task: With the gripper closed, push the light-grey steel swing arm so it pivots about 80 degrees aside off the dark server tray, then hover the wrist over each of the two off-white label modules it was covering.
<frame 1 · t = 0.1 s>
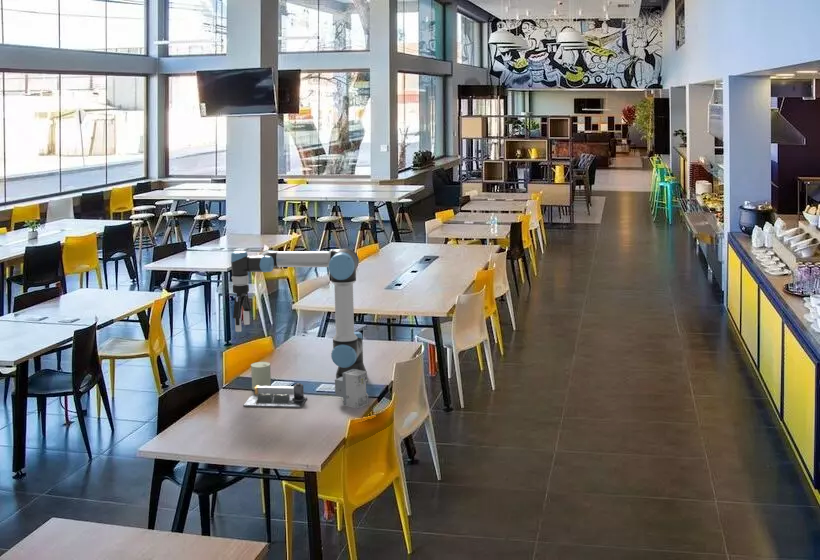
hand: (242, 328, 444), 28 cm above the table, fingers open, 13 cm apart
can: (261, 388, 444), on the table
circuit breaker: (350, 403, 420), on the table
server tray: (275, 402, 423), on the table
swing arm: (279, 390, 425), point 5 cm above the table, hinge at 0.0°
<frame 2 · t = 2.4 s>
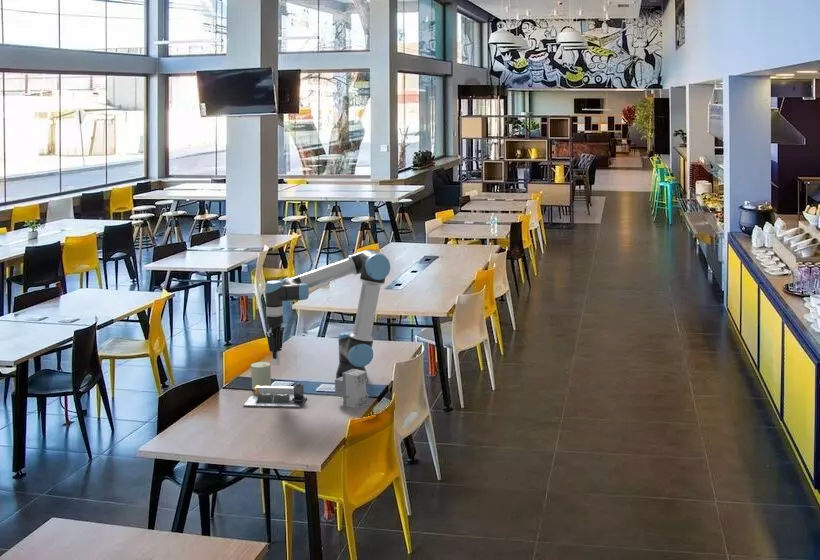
hand: (276, 364, 429), 15 cm above the table, fingers closed
nothing on the table moved.
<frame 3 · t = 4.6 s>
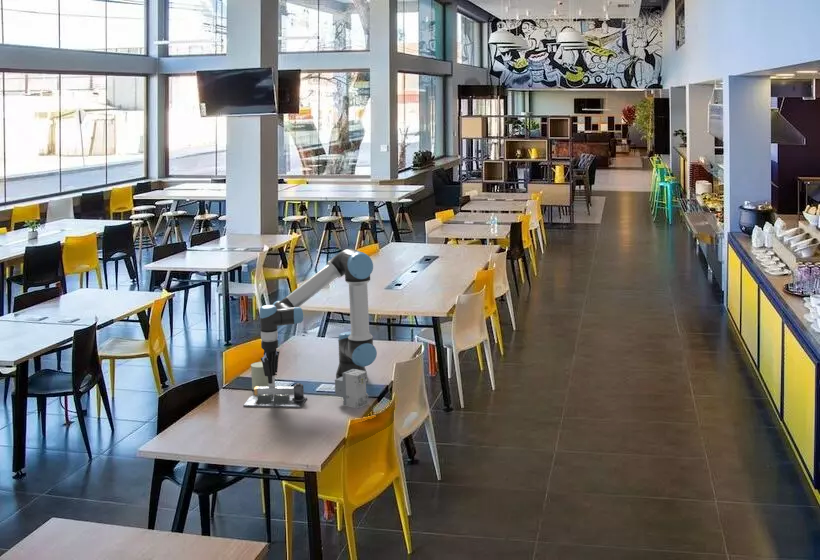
hand: (271, 389, 427), 5 cm above the table, fingers closed
swing arm: (279, 390, 424), point 5 cm above the table, hinge at 4.1°, touching gripper
everything else where it was.
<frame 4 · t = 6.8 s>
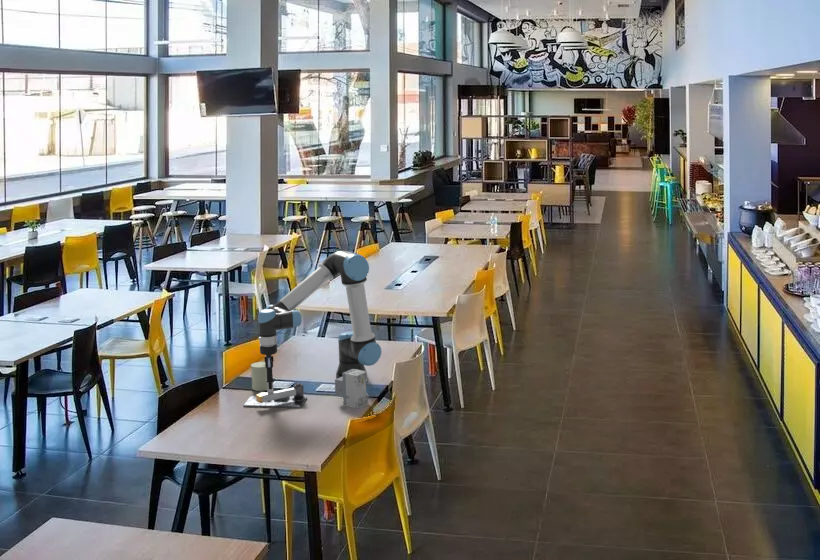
hand: (270, 395, 419), 4 cm above the table, fingers closed
swing arm: (280, 394, 419), point 5 cm above the table, hinge at 39.2°, touching gripper
everything else where it was.
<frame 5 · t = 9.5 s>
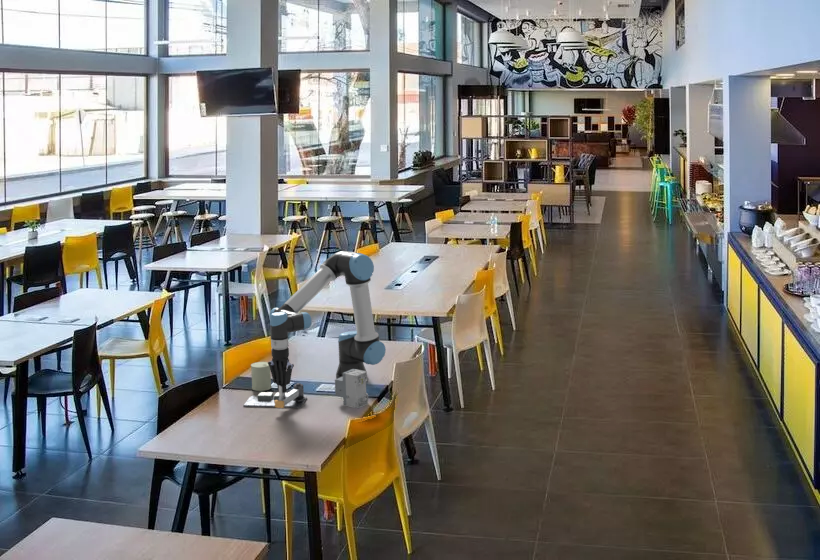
hand: (282, 399, 414), 4 cm above the table, fingers closed
swing arm: (290, 396, 416), point 5 cm above the table, hinge at 77.8°
everything else where it was.
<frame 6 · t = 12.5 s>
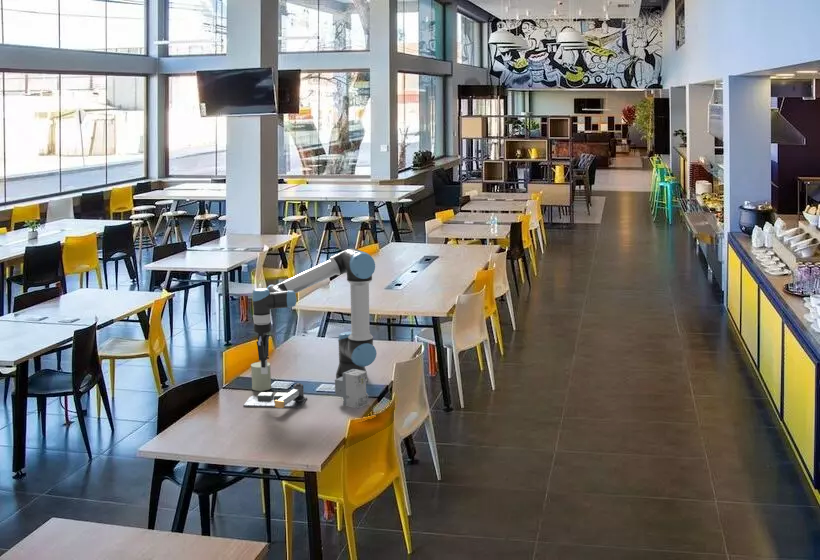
hand: (264, 373, 424), 12 cm above the table, fingers closed
nothing on the table moved.
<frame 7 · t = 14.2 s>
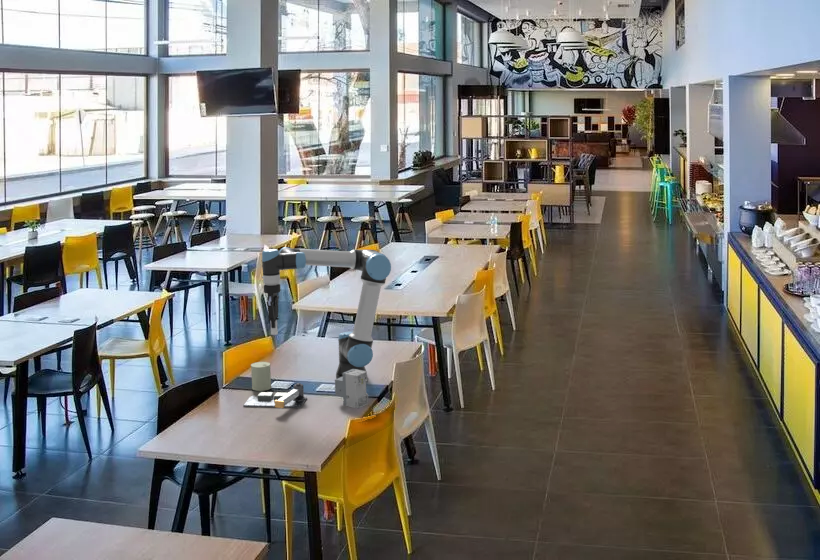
hand: (274, 334, 427), 29 cm above the table, fingers closed
nothing on the table moved.
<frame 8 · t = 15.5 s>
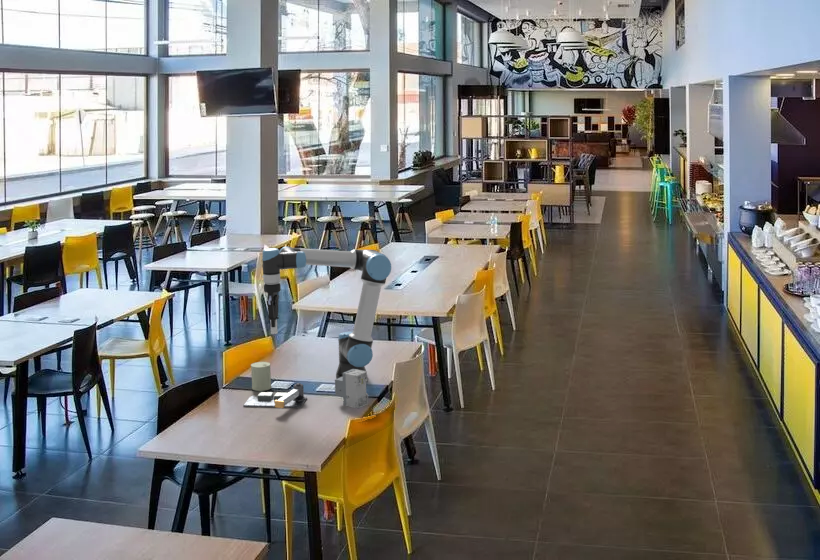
hand: (274, 333, 427), 29 cm above the table, fingers closed
nothing on the table moved.
at the end: swing arm at +78° (first picture: +0°); can moved 0.2 cm from its start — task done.
